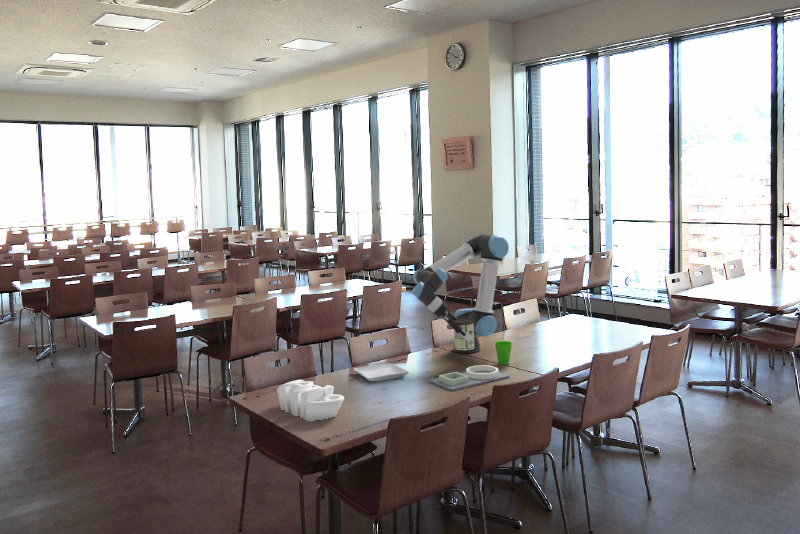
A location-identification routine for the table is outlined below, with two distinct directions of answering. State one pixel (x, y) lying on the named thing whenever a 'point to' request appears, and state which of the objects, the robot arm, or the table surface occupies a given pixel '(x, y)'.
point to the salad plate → (381, 372)
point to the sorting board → (469, 377)
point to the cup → (503, 351)
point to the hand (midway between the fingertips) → (470, 337)
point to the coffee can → (460, 340)
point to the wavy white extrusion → (309, 400)
